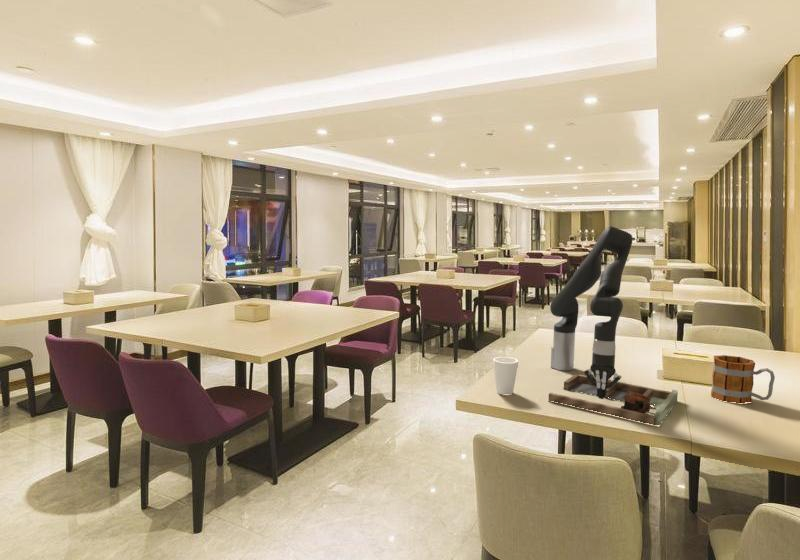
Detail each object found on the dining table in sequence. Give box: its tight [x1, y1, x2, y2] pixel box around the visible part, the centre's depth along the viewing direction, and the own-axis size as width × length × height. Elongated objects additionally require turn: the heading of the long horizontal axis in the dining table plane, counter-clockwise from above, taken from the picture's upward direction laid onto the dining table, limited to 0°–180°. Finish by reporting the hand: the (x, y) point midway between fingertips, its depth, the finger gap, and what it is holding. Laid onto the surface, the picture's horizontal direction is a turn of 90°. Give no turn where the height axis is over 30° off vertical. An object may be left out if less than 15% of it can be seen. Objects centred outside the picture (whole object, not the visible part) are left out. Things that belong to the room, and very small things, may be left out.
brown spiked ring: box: [620, 392, 651, 414], centre depth 168 cm, size 12×10×8 cm
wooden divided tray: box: [548, 374, 678, 426], centre depth 180 cm, size 38×31×4 cm
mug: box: [710, 354, 776, 403], centre depth 182 cm, size 20×14×15 cm
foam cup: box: [492, 356, 519, 395], centre depth 189 cm, size 10×9×13 cm
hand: (601, 398), depth 177 cm, fingers closed
